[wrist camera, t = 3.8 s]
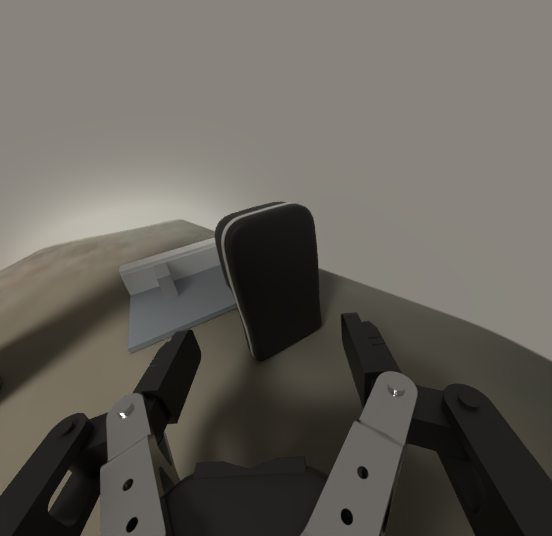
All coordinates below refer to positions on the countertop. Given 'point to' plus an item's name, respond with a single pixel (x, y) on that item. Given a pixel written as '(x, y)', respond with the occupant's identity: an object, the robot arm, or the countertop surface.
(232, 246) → the black rounded block
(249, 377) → the countertop surface
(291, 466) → the robot arm
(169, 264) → the bracket
